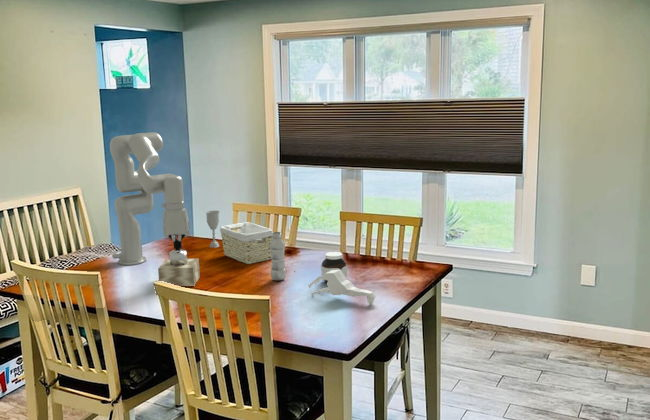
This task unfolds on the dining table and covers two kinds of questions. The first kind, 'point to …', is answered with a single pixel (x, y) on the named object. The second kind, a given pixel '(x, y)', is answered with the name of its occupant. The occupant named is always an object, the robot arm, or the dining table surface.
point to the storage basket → (247, 242)
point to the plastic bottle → (277, 257)
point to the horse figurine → (341, 286)
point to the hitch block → (180, 273)
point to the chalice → (213, 224)
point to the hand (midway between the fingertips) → (178, 250)
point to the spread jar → (333, 263)
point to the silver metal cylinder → (178, 257)
